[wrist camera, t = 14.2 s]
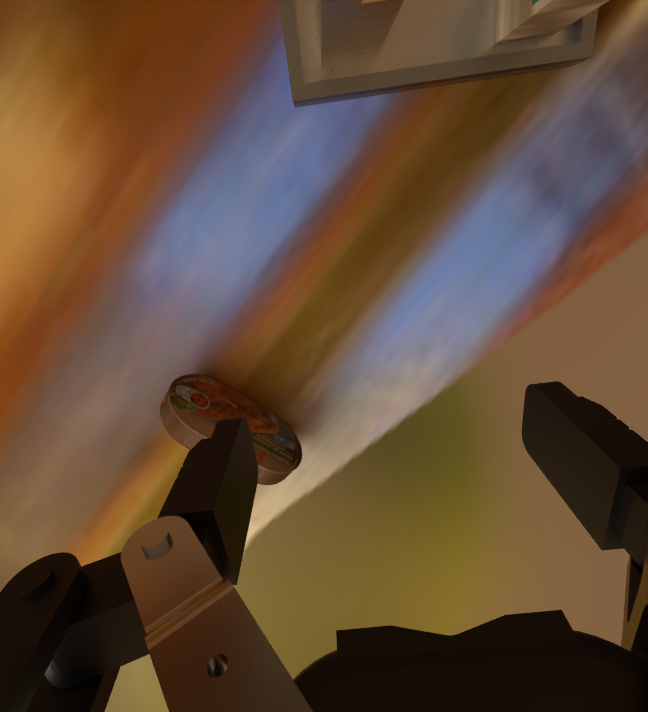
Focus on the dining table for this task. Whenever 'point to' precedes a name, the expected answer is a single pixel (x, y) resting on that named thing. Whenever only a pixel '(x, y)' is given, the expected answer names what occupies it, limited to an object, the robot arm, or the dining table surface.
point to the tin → (217, 401)
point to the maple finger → (538, 17)
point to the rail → (411, 46)
